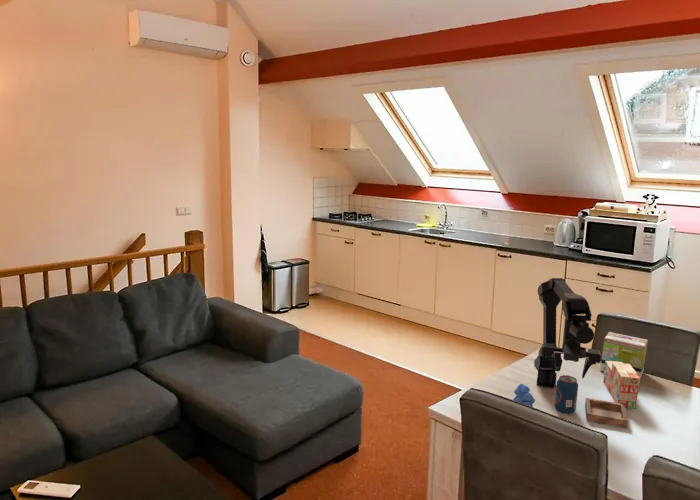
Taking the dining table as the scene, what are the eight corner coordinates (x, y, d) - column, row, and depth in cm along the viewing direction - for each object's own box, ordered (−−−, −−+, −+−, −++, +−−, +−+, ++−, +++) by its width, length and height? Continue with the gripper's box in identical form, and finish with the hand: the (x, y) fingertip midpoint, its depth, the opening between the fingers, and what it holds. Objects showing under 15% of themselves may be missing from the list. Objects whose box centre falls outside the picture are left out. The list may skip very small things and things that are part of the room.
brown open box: (586, 421, 184) (587, 413, 183) (585, 404, 195) (585, 397, 195) (627, 428, 180) (628, 420, 179) (623, 411, 191) (624, 404, 190)
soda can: (552, 405, 195) (554, 374, 192) (571, 406, 194) (575, 375, 192) (557, 414, 188) (560, 382, 186) (578, 416, 187) (581, 383, 185)
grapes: (541, 425, 181) (544, 391, 179) (521, 425, 180) (524, 392, 178) (526, 408, 192) (529, 376, 190) (508, 408, 192) (510, 377, 189)
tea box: (599, 371, 224) (603, 337, 221) (604, 363, 232) (608, 330, 229) (640, 381, 215) (645, 346, 212) (643, 372, 223) (648, 338, 220)
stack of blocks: (602, 382, 214) (605, 352, 212) (619, 383, 213) (623, 354, 210) (617, 408, 194) (621, 375, 191) (636, 410, 192) (640, 377, 190)
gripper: (542, 337, 181) (539, 380, 184) (604, 344, 175) (599, 390, 178) (543, 326, 191) (540, 368, 195) (601, 333, 185) (597, 376, 188)
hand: (568, 375), depth 188 cm, fingers open, 9 cm apart
